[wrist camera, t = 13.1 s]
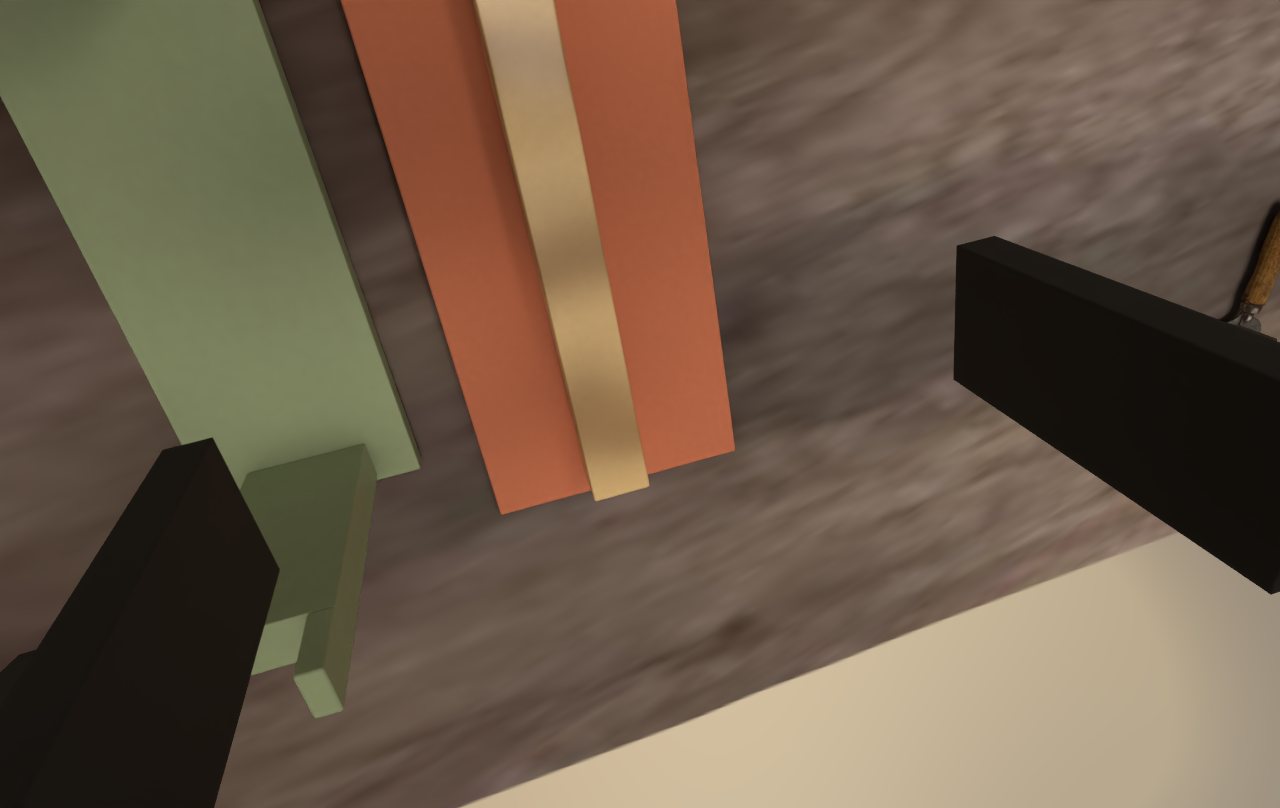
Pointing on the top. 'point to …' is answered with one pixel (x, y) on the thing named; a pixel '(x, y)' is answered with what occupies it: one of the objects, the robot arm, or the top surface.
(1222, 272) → the top surface
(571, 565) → the top surface
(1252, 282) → the can opener
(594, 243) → the hanger bar
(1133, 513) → the top surface
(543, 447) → the mat
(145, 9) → the rack
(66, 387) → the top surface
